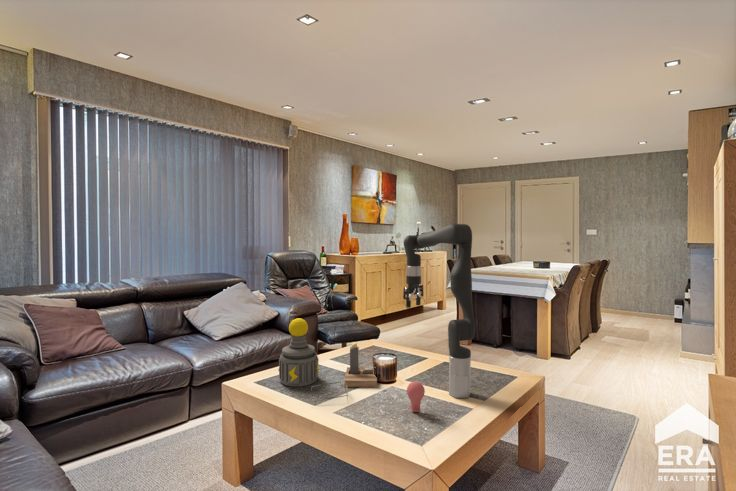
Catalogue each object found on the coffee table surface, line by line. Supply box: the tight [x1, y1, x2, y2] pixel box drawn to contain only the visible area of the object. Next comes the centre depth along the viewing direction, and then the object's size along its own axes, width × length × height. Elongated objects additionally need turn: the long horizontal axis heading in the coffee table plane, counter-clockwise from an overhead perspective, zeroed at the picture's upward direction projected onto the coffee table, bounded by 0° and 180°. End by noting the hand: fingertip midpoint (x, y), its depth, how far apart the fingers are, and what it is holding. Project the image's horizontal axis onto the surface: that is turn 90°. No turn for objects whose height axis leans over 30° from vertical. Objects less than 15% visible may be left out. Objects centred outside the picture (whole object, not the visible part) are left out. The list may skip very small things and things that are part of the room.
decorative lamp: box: [278, 317, 320, 388], centre depth 205 cm, size 19×19×30 cm
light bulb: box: [406, 381, 426, 413], centre depth 172 cm, size 7×7×12 cm
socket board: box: [343, 366, 378, 388], centre depth 207 cm, size 18×15×3 cm
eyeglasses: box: [310, 379, 349, 406], centre depth 188 cm, size 16×15×5 cm
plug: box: [349, 342, 360, 374], centre depth 208 cm, size 4×4×17 cm
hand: (413, 306), depth 218 cm, fingers open, 8 cm apart
